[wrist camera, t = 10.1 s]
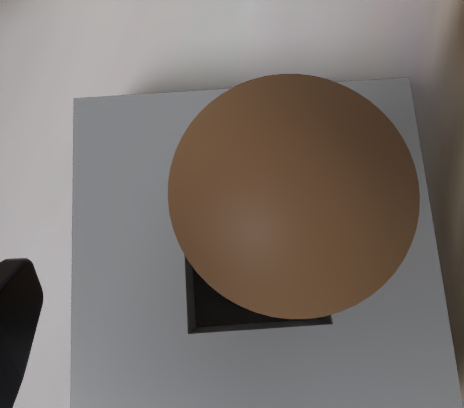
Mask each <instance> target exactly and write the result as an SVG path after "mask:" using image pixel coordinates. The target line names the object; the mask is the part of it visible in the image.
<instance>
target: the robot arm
mask: <svg viewBox="0 0 464 408" xmlns="http://www.w3.org/2000/svg"><path fill="white" fill-rule="evenodd" d="M42 304H43V291H42V288H41V285H40V282H39V279H38V277H37V274H36V271H35V268H34V266H33V263H32V262H31V261H30V260H29V259H27V258H17V259H6V260H3V261H2V262H0V408H12V407H13V405H14V402H15V399H16V397H17V394H18V391H19V389H20V386H21V383H22V380H23V377H24V373H25V370H26V366H27V362H28V358H29V355H30V351H31V347H32V343H33V339H34V335H35V331H36V327H37V324H38V320H39V316H40V312H41V308H42Z"/></svg>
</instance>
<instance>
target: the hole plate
mask: <svg viewBox="0 0 464 408" xmlns="http://www.w3.org/2000/svg"><path fill="white" fill-rule="evenodd" d="M336 83H339V84H342V85H344V86H346V87H348V88H350V89H352V90H354V91H356V92H357V93H359V94H360V95H362V96H363V97H365V98H366V99H368V100H369V101H371V102H372V103H373V104H374V105H375V106H376V107H378V108H379V109H380V110H381V111H382V112H383V113H384V114H385V115H386V116H387V117H388V118H389V120H390V121H391V122H392V123H393V124H394V126H395V127H396V129H397V130H398V131H399V133H400V134H401V136H402V137H403V139H404V141H405V143H406V145H407V147H408V149H409V151H410V154H411V156H412V159H413V162H414V164H415V168H416V172H417V177H418V181H419V191H420V210H419V218H418V223H417V229H416V232H415V235H414V238H413V241H412V244H411V246H410V248H409V251H408V253H407V255H406V257H405V259H404V260H403V262H402V263H401V265H400V266H399V268H398V269H397V271H396V272H395V273H394V275H393V276H392V277H391V278H390V279H389V280H388V281H387V282H386V283H385V284H384V286H382V287H381V288H380V289H379V290H377V291H376V292H375V293H374V294H373V295H371V296H370V297H368V298H367V299H365V300H364V301H362V302H360V303H359V304H357V305H355V306H353V307H351V308H348V309H346V310H344V311H342V312H339V313H335V314H332V315H328V316H324V317H318V318H316V319H311V320H297V321H282V322H267V323H252V324H238V325H223V326H208V327H195V307H194V285H193V267H192V265H191V264H190V263H189V261H188V260H187V258H186V256H185V254H184V253H183V251H182V249H181V247H180V245H179V243H178V241H177V238H176V235H175V233H174V230H173V227H172V223H171V218H170V214H169V206H168V179H169V173H170V167H171V163H172V160H173V157H174V154H175V151H176V148H177V146H178V144H179V142H180V140H181V138H182V136H183V134H184V133H185V131H186V129H187V128H188V126H189V125H190V123H191V122H192V121H193V120H194V119H195V117H196V116H197V115H198V114H199V113H200V111H202V110H203V109H204V108H205V107H206V106H207V105H208V104H209V103H210V102H211V101H213V100H214V99H215V98H217V97H218V96H220V95H221V94H223V93H224V92H226V91H228V90H230V89H215V90H199V91H183V92H167V93H151V94H135V95H119V96H103V97H87V98H74V113H73V204H72V295H71V386H70V408H463V402H462V396H461V390H460V383H459V377H458V371H457V365H456V359H455V353H454V347H453V341H452V335H451V329H450V323H449V317H448V310H447V304H446V298H445V292H444V286H443V280H442V274H441V268H440V262H439V256H438V250H437V244H436V237H435V231H434V225H433V219H432V213H431V207H430V201H429V195H428V189H427V183H426V177H425V171H424V164H423V158H422V152H421V146H420V140H419V134H418V128H417V122H416V116H415V110H414V104H413V98H412V91H411V85H410V79H409V77H407V78H391V79H375V80H359V81H343V82H336Z"/></svg>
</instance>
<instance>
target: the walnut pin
mask: <svg viewBox="0 0 464 408" xmlns="http://www.w3.org/2000/svg"><path fill="white" fill-rule="evenodd" d="M168 206H169V214H170V218H171V223H172V227H173V230H174V233H175V235H176V238H177V241H178V243H179V245H180V247H181V249H182V251H183V253H184V254H185V256H186V258H187V260H188V261H189V263H190V264H191V265H192V267H193V268H194V269H195V271H196V272H197V273H198V274H199V275H200V276H201V277H202V278H203V279H204V280H205V282H206V283H207V284H208V285H209V286H211V287H212V288H213V289H214V290H216V291H217V292H218V293H220V294H221V295H222V296H223V297H225V298H227V299H228V300H230V301H232V302H234V303H235V304H237V305H239V306H241V307H243V308H246V309H248V310H251V311H253V312H256V313H259V314H263V315H267V316H270V317H277V318H284V319H311V318H318V317H324V316H328V315H332V314H335V313H339V312H342V311H344V310H346V309H348V308H351V307H353V306H355V305H357V304H359V303H360V302H362V301H364V300H365V299H367V298H368V297H370V296H371V295H373V294H374V293H375V292H376V291H377V290H379V289H380V288H381V287H382V286H384V284H385V283H386V282H387V281H388V280H389V279H390V278H391V277H392V276H393V275H394V273H395V272H396V271H397V269H398V268H399V266H400V265H401V263H402V262H403V260H404V259H405V257H406V255H407V253H408V251H409V248H410V246H411V244H412V241H413V238H414V235H415V232H416V229H417V223H418V218H419V210H420V191H419V181H418V177H417V172H416V168H415V164H414V162H413V159H412V156H411V154H410V151H409V149H408V147H407V145H406V143H405V141H404V139H403V137H402V136H401V134H400V133H399V131H398V130H397V129H396V127H395V126H394V124H393V123H392V122H391V121H390V120H389V118H388V117H387V116H386V115H385V114H384V113H383V112H382V111H381V110H380V109H379V108H378V107H376V106H375V105H374V104H373V103H372V102H371V101H369V100H368V99H366V98H365V97H363V96H362V95H360V94H359V93H357V92H356V91H354V90H352V89H350V88H348V87H346V86H344V85H342V84H339V83H336V82H334V81H331V80H328V79H324V78H320V77H315V76H310V75H301V74H279V75H271V76H265V77H261V78H257V79H253V80H250V81H247V82H245V83H242V84H240V85H237V86H235V87H233V88H231V89H230V90H228V91H226V92H224V93H223V94H221V95H220V96H218V97H217V98H215V99H214V100H213V101H211V102H210V103H209V104H208V105H207V106H206V107H205V108H204V109H203V110H202V111H200V113H199V114H198V115H197V116H196V117H195V119H194V120H193V121H192V122H191V123H190V125H189V126H188V128H187V129H186V131H185V133H184V134H183V136H182V138H181V140H180V142H179V144H178V146H177V148H176V151H175V154H174V157H173V160H172V163H171V167H170V173H169V179H168Z"/></svg>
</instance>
